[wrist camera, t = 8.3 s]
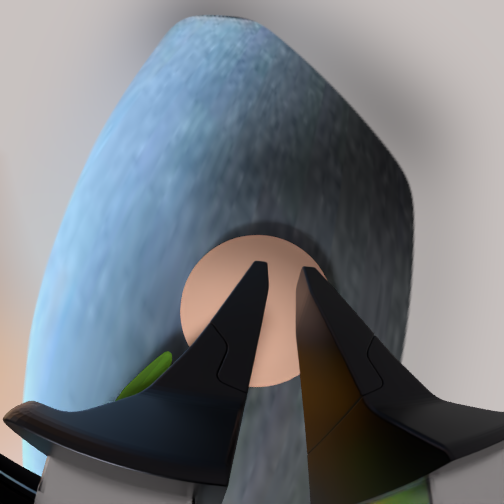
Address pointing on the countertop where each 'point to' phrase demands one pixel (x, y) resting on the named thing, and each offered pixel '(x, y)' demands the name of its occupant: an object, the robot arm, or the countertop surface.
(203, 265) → the pink flat disc
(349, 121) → the countertop surface
